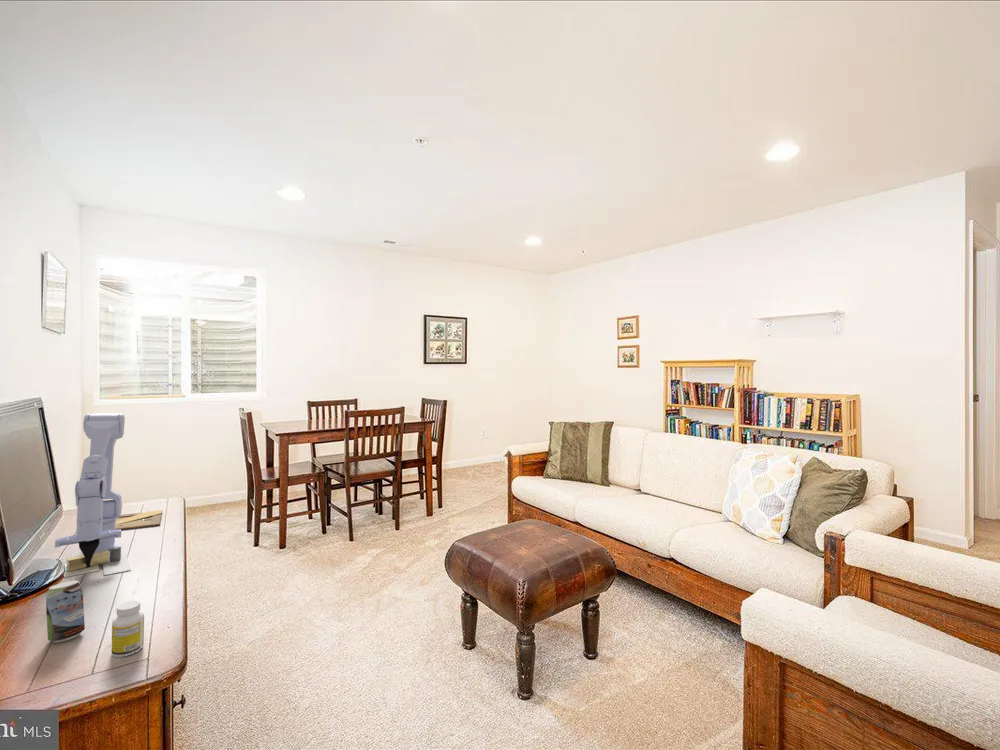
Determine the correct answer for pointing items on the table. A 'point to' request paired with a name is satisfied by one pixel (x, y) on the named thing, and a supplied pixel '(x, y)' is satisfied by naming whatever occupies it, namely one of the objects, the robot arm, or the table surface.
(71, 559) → the bar
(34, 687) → the table surface
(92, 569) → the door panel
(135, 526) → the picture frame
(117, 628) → the supplement bottle
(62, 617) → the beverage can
